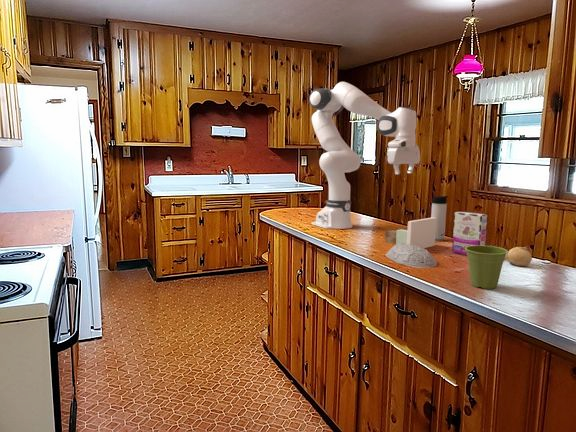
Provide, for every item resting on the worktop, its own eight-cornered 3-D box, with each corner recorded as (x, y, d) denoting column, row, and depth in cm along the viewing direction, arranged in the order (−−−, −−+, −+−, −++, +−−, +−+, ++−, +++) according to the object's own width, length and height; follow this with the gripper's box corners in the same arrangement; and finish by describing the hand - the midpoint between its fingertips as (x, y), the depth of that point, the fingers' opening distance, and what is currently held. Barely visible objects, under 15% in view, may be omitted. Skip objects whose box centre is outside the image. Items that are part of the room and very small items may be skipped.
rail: (385, 241, 194) (385, 229, 193) (390, 240, 196) (390, 228, 196) (412, 247, 184) (413, 234, 183) (417, 246, 186) (418, 233, 185)
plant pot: (479, 277, 141) (482, 243, 140) (513, 288, 131) (517, 251, 129) (453, 282, 136) (456, 247, 134) (487, 294, 125) (490, 255, 124)
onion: (510, 267, 155) (512, 247, 154) (502, 261, 162) (504, 242, 161) (534, 268, 154) (536, 248, 153) (525, 262, 161) (527, 243, 160)
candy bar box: (484, 256, 170) (488, 214, 167) (478, 258, 167) (481, 215, 164) (457, 251, 178) (460, 210, 176) (451, 252, 175) (454, 211, 172)
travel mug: (446, 241, 196) (449, 196, 193) (430, 240, 198) (433, 196, 194) (444, 238, 202) (446, 195, 199) (429, 238, 204) (431, 194, 201)
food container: (412, 268, 150) (415, 249, 150) (374, 255, 173) (376, 238, 173) (449, 269, 155) (452, 251, 155) (407, 257, 179) (409, 240, 178)
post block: (391, 247, 183) (392, 218, 181) (416, 242, 195) (417, 215, 193) (409, 251, 176) (411, 221, 174) (434, 245, 188) (436, 217, 186)
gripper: (412, 143, 209) (411, 173, 211) (385, 143, 196) (384, 174, 198) (424, 143, 204) (422, 173, 207) (397, 143, 191) (395, 175, 193)
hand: (403, 174), depth 202 cm, fingers open, 8 cm apart
